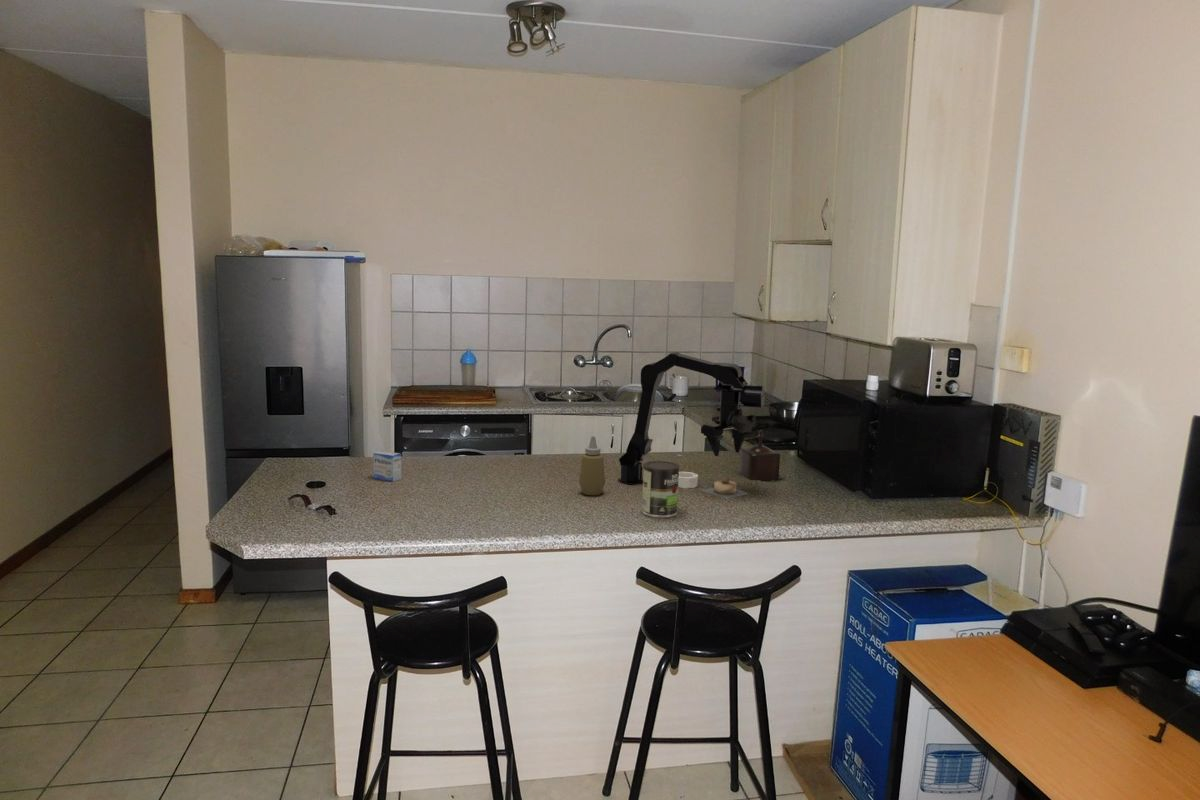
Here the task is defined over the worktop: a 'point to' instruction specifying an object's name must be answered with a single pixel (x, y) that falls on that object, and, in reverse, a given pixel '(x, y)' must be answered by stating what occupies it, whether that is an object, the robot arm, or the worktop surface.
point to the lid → (725, 487)
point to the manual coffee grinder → (758, 461)
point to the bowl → (687, 480)
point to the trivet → (738, 493)
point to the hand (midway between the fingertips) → (726, 454)
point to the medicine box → (387, 466)
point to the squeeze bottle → (592, 470)
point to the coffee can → (660, 489)
